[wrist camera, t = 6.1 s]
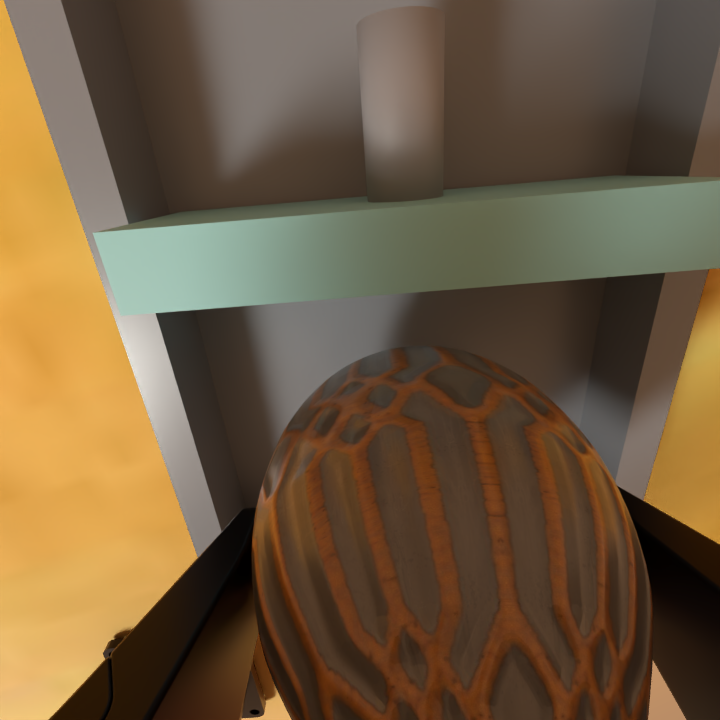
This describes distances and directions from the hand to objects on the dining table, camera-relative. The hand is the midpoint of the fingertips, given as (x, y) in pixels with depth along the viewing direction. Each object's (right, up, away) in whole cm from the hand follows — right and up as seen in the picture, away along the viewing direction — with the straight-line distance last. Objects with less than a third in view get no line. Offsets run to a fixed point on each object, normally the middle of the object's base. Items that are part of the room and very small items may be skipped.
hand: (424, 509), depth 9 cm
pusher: (-1, +8, +1) cm, 8 cm away
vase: (0, +1, +3) cm, 3 cm away
